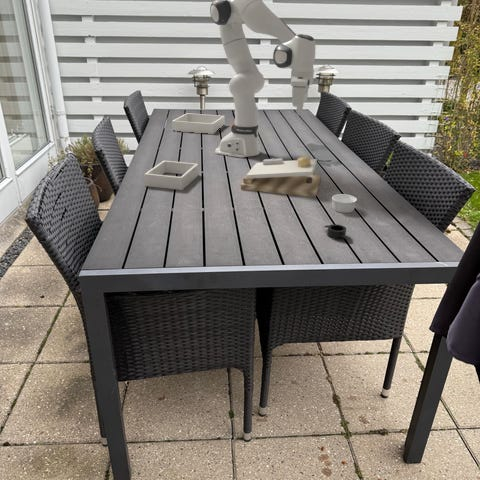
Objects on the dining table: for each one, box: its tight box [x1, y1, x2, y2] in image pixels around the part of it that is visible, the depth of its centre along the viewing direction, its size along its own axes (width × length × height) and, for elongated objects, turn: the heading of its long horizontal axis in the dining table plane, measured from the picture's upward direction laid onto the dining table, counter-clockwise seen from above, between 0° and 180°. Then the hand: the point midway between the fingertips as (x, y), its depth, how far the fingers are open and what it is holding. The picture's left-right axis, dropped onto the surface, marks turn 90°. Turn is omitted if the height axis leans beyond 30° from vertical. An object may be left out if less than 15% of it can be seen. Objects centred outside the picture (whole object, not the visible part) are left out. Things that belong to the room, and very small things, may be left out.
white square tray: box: [171, 112, 226, 135], centre depth 282 cm, size 25×25×6 cm
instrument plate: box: [246, 156, 318, 179], centre depth 189 cm, size 26×18×4 cm
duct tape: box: [322, 223, 351, 241], centre depth 149 cm, size 8×10×3 cm
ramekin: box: [331, 193, 358, 214], centre depth 169 cm, size 9×9×4 cm
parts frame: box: [143, 160, 200, 191], centre depth 193 cm, size 16×20×5 cm
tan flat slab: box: [240, 166, 322, 198], centre depth 192 cm, size 30×22×4 cm
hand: (299, 114), depth 191 cm, fingers closed
